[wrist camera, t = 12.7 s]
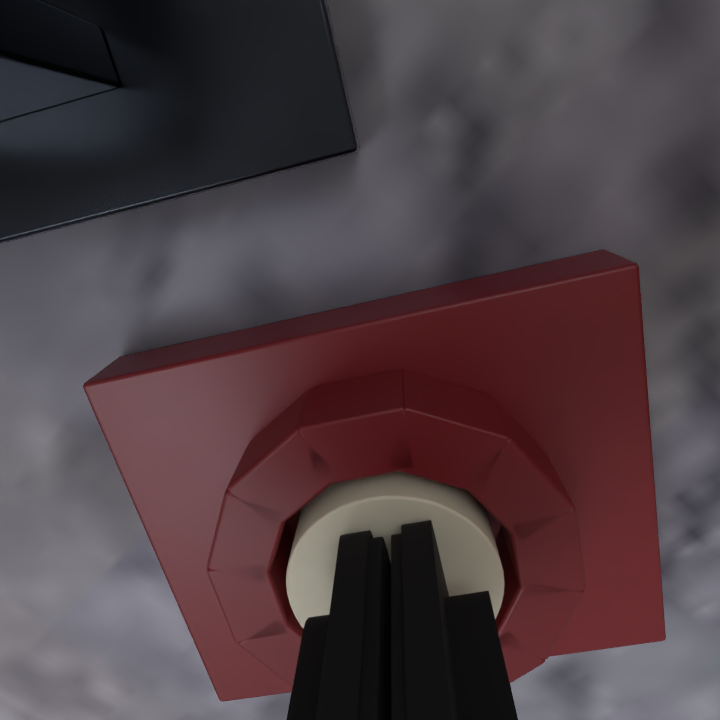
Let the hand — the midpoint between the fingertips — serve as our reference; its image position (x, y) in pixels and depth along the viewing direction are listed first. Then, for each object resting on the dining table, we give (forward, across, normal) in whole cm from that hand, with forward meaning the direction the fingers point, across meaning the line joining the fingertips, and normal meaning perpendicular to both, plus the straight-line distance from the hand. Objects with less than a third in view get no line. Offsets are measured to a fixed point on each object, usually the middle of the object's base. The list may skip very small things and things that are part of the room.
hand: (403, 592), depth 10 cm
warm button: (+2, 0, 0) cm, 2 cm away
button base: (+4, 0, 0) cm, 4 cm away
